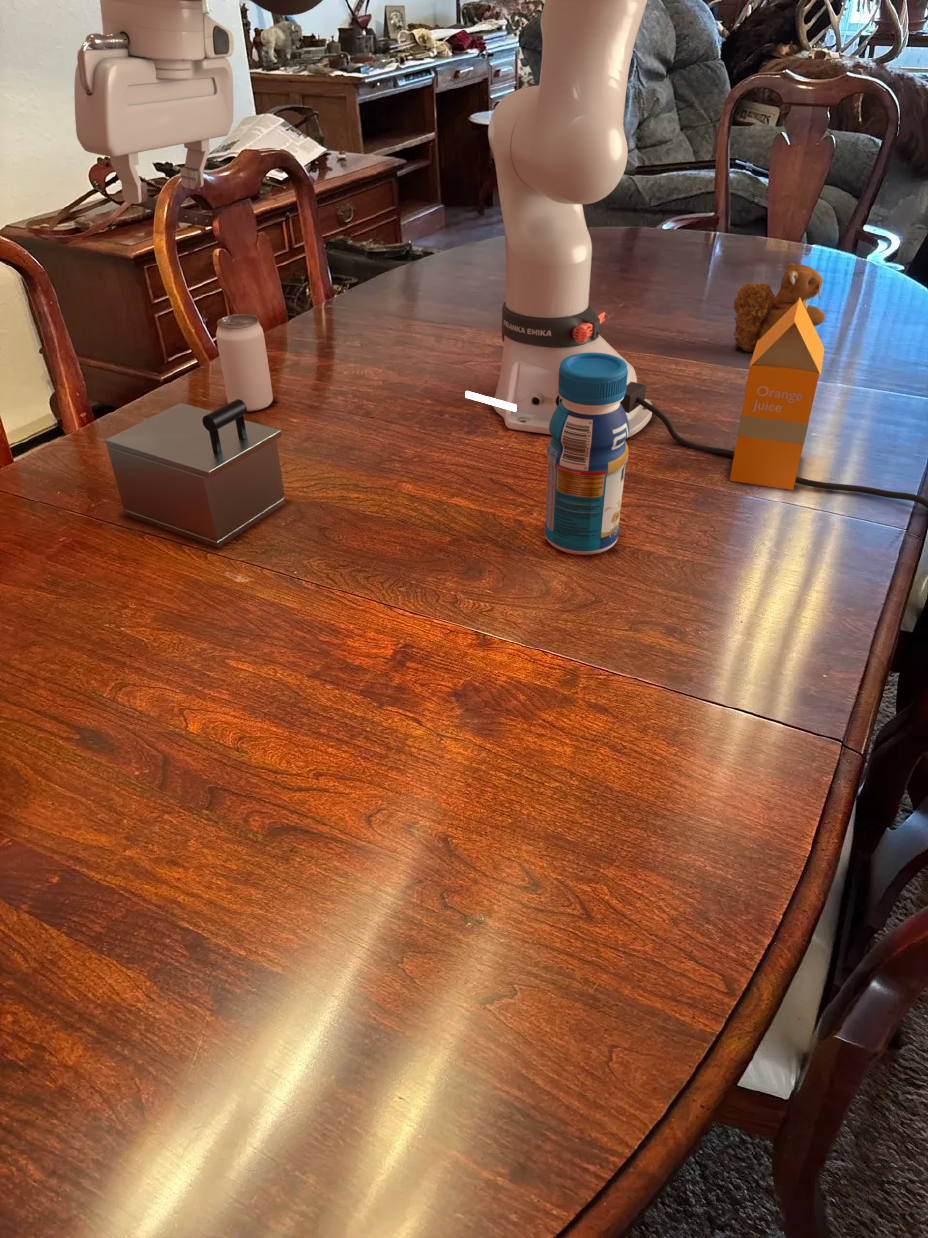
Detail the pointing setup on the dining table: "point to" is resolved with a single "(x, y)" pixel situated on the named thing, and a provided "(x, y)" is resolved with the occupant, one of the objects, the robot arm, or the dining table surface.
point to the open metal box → (200, 494)
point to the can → (244, 361)
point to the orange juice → (778, 402)
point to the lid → (196, 438)
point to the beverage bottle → (587, 454)
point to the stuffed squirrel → (774, 304)
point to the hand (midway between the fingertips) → (165, 194)
